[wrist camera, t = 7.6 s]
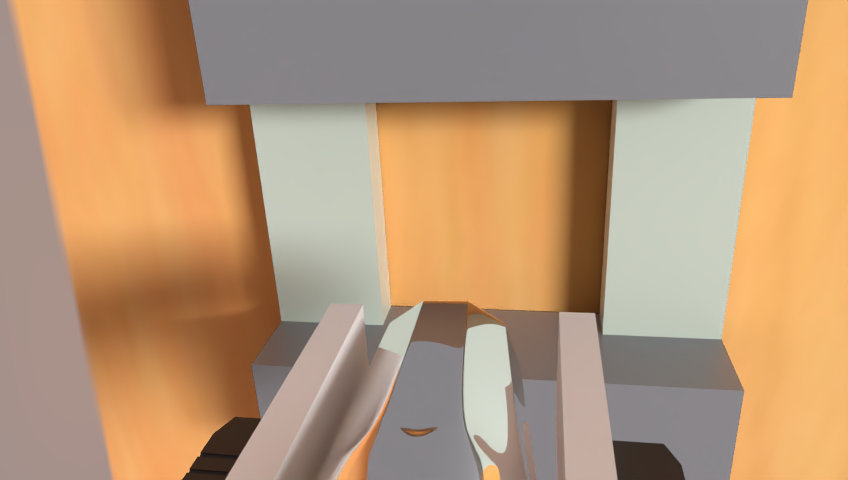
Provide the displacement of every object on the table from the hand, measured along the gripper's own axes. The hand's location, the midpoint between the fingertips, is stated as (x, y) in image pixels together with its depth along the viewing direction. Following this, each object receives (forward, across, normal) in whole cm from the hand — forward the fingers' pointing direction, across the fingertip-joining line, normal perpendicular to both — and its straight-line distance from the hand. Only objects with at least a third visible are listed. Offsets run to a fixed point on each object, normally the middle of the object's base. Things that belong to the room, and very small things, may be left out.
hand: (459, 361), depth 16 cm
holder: (+10, 0, 0) cm, 10 cm away
